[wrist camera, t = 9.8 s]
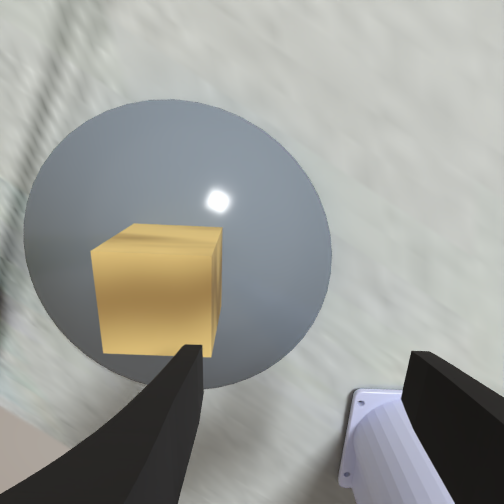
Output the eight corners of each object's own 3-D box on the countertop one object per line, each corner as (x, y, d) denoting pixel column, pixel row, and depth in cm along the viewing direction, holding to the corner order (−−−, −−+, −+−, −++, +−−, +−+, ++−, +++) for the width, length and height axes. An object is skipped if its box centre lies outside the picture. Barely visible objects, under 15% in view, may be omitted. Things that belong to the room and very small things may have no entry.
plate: (311, 384, 22) (314, 394, 21) (59, 374, 22) (50, 384, 21) (347, 110, 17) (352, 108, 16) (7, 94, 16) (-8, 90, 15)
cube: (221, 305, 19) (211, 357, 15) (140, 302, 19) (103, 353, 14) (222, 227, 18) (211, 256, 13) (134, 223, 18) (90, 251, 13)
